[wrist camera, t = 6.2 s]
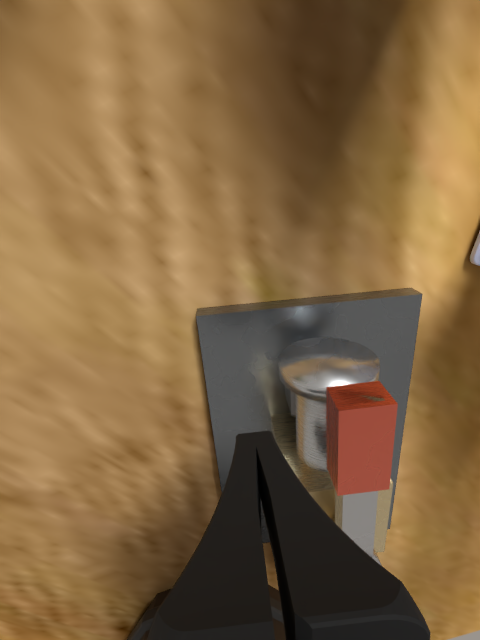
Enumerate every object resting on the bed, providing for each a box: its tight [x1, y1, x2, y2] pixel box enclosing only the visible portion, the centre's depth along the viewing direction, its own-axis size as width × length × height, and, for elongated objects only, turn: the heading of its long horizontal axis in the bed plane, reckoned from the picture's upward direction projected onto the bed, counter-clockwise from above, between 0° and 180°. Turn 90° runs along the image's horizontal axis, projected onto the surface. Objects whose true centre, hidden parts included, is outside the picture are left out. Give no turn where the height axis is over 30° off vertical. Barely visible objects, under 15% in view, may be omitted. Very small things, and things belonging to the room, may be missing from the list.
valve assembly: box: [196, 288, 422, 552], centre depth 20 cm, size 20×13×8 cm, turn 5°
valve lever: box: [326, 381, 398, 565], centre depth 14 cm, size 11×2×1 cm, turn 6°
